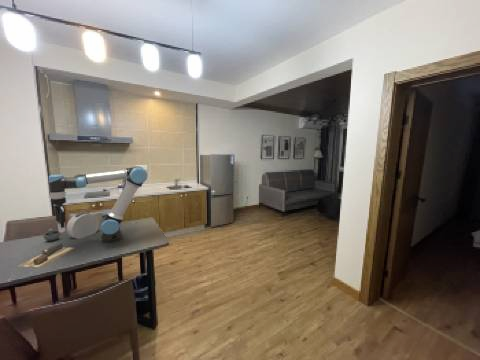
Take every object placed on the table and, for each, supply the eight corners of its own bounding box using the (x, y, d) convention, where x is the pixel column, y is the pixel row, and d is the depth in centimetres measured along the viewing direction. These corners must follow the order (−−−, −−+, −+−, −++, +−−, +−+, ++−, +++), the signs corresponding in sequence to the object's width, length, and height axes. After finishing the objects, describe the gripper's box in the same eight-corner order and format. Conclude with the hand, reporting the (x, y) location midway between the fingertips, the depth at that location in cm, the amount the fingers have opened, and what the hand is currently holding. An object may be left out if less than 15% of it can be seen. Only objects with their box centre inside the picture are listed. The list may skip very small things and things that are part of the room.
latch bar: (46, 256, 137) (46, 251, 136) (40, 256, 137) (40, 251, 137) (63, 247, 150) (63, 242, 149) (58, 247, 150) (57, 242, 149)
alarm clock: (94, 230, 186) (92, 209, 183) (99, 231, 183) (98, 210, 181) (67, 239, 166) (64, 215, 164) (73, 241, 164) (70, 217, 161)
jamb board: (75, 249, 151) (75, 243, 150) (43, 268, 126) (42, 261, 126) (54, 248, 151) (53, 242, 151) (17, 268, 126) (16, 260, 126)
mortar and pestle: (45, 240, 164) (43, 226, 162) (61, 237, 169) (59, 223, 168) (43, 246, 155) (41, 230, 153) (60, 242, 161) (58, 228, 159)
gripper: (69, 198, 138) (73, 232, 141) (61, 195, 146) (64, 227, 149) (55, 200, 131) (58, 235, 135) (47, 197, 140) (51, 230, 143)
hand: (61, 231), depth 142 cm, fingers open, 2 cm apart
